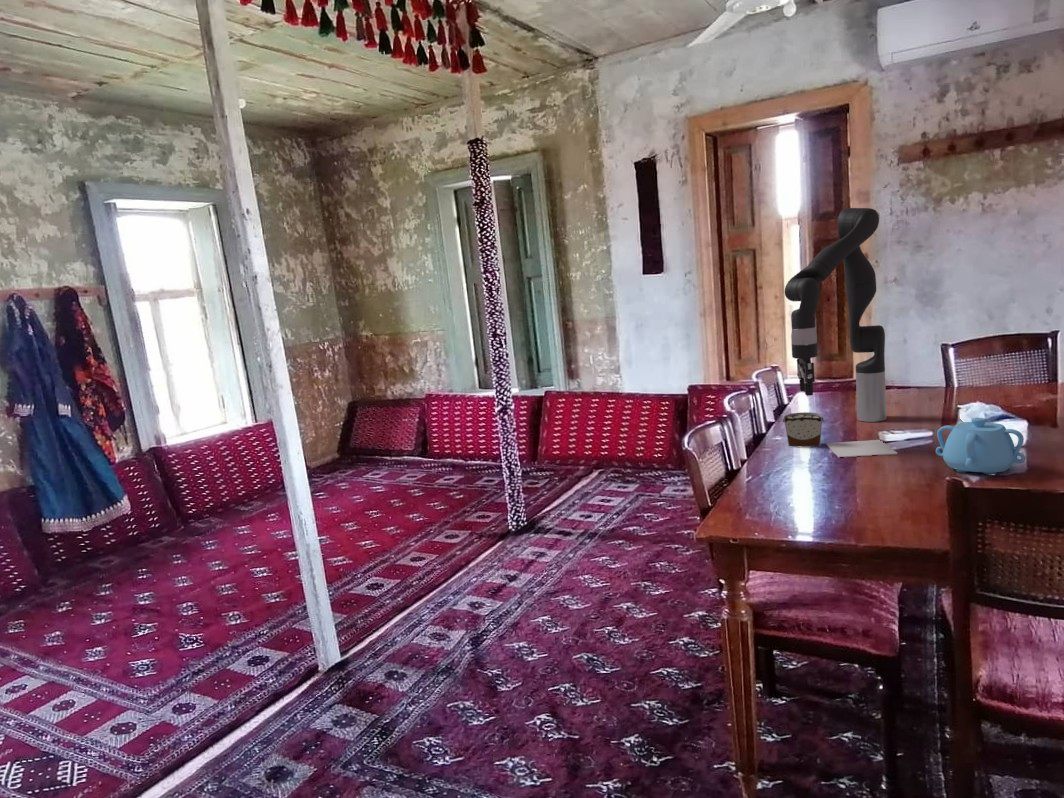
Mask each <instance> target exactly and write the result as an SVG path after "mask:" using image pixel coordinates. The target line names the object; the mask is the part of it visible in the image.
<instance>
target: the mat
mask: <svg viewBox="0 0 1064 798" xmlns="http://www.w3.org/2000/svg"><path fill="white" fill-rule="evenodd" d="M880 440H881V439H870V440H857V441H841V442H840V441H839V442H825V446H827V448H829V449H830V450H831V451H832V452H833V453H834V455H836V456H837V458H839V459H840V457H844V458H857V456H861V457H873V456H872V455H878V456H890V455H891V456H892V455H895V456H896V455H898V452H897V451H896V450H894V449H893V448H892V447H890V446H889V445H888V444H886V443H885V442H884V441H883V440H881V441H880ZM883 442H884V443H883Z"/></svg>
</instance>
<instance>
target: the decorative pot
mask: <svg viewBox="0 0 1064 798" xmlns="http://www.w3.org/2000/svg"><path fill="white" fill-rule="evenodd" d="M944 430H949V431H951V432H950V433H949V435H948V437H947V439H946V441H945V440H944V437H943V431H944ZM1010 434H1012V435H1015V436H1016V437H1017V444H1016V447H1015V444H1014V441H1013V439H1012V437H1011V435H1010ZM936 436H937V439H938V443H939V444H940V446H938V447H936V449H935V454H936V455H937V456H939V457H942V458H943V460H944V462H945V464H946V465H947V467H949V468H951V469H955V472H957V473H967V472H974V473H983V474H984V475H985V474H990V475H989V476H992V475H991V474H996V475H997V473H1003V472H1005V471H1008V469H1010V467H1012V465H1013V464H1014V463H1015V464H1023V463H1024V462H1025V461H1026V455H1025V454H1024V453H1022V452H1020V451H1021V449H1022V447H1023V445H1024V440H1025V438H1024V435H1023V434H1022V433H1021V432H1020V430H1017V429H1013V428H1008V429H1007V428H1006V427H1005V425H1003V424H1002V423H996V422H990V421H987V418H984V417H973V418H971V419H970V421H964V422H959V423H957V424H956V425H950V424H949V425H948V424H947V425H943V426H941V427H940V428H939V429H938V430H937V432H936ZM940 450H942V452H941V451H940ZM1018 457H1020V458H1018Z"/></svg>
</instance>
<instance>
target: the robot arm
mask: <svg viewBox="0 0 1064 798" xmlns="http://www.w3.org/2000/svg"><path fill="white" fill-rule="evenodd" d="M879 223H880V215H879V213H878V211H877V210H876V209H874V208H869V207H847V208H843V209H842V210H841V211H840V212H839V215H838V216H837V223H836V225H837V228H836V229H837V235H838V240H836V241H835V242H833V243H831V244H829V245H827V246H826V247H824V248H823V249H822V250H820V252H818V253H817V254H816V255H815V257H814V258H813V259H812V260H811V261H810V262H809V263H808V265H807V266H805V267H804V268H803V269H801V270H799V272H797V273H796V274H794V275H793V276H792V277H791V278H790V279H789V280H788V281H787V283H786V285H785V287H784V296H785V297H786V299H787V300H788V301H791V302H800V304H799V308H797V309H795V310H792V312H791V315H790V316H791V317H790V319H791V320H790V321H791V334H790V335H791V336H790V339H791V357H792V358H793V359H796V367H797V369H796V371H797V374H796V375H797V378H798V380H799V391H800V392H804V393H805V396H808V397H809V396H813V395H814V383H815V381H816V377H815V363H814V362H812V360H811V359H812V358H816V357H818V354H819V353H818V334H817V327H816V312H817V308H818V304H819V299H820V293H821V288H820V283H823V282H825V281H826V280H827V278H828V277H829V276H830V275H831V274H832V273H833V272H834V271H835V269H836V268H837V267H838V266H839V265H840V263H842V262H843V267H844V268H843V269H844V281H845V291H846V292H845V294H846V298H847V301H846V302H847V308H848V323H849V325H848V327H849V328H848V329H849V345H850V349H851V351H852V352H853V353H857V354H858V353H860V354H861V353H864V354H865V353H873V356H871V357H870V358H868V359H866V360H863V361H860V362H858V363H857V364H855V385H856V386H855V388H856V389H855V390H856V391H855V392H856V416H857V418H856V419H857V420H858V421H861V422H868V423H871V422H873V423H875V422H883V421H885V420H887V394H886V390H887V389H886V365H885V364H886V363H885V361H886V360H885V359H886V358H885V351H886V350H885V349H886V346H885V345H886V333H885V332H886V331H885V329H884V327H883V326H882V325H880V324H879V325H876V324H875V325H862V326H861V325H860V322H861V319H862V317H863V314H864V313H865V312H866V310H867V308H869V307H868V306H869V305H870V304H871V302H872V300H874V298H875V296H876V293H877V277H876V271H875V269H874V267H873V265H872V264H871V262H870V261H869V259H868V258H867V256H865V254H864V252H863V251H862V249H861V245H862V244H863V243H865V241H867V240H868V239H870V237H872V236H873V235H874V233H875V232H876V231H877V229H878V227H879Z"/></svg>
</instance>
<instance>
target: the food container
mask: <svg viewBox="0 0 1064 798" xmlns="http://www.w3.org/2000/svg"><path fill="white" fill-rule="evenodd" d="M782 418H783V419H782V423H784V427H785V432H786V437H787V444H788V445H787V446H788V447H789V446H820V447H821V442H822V441H821V440H822V425H823V423H825V420H824V417H823V415H822V414H821V413H817V412H809V411H807V412H805V411H804V412H794V413H788V414H785V415H784V416H783V417H782Z"/></svg>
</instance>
